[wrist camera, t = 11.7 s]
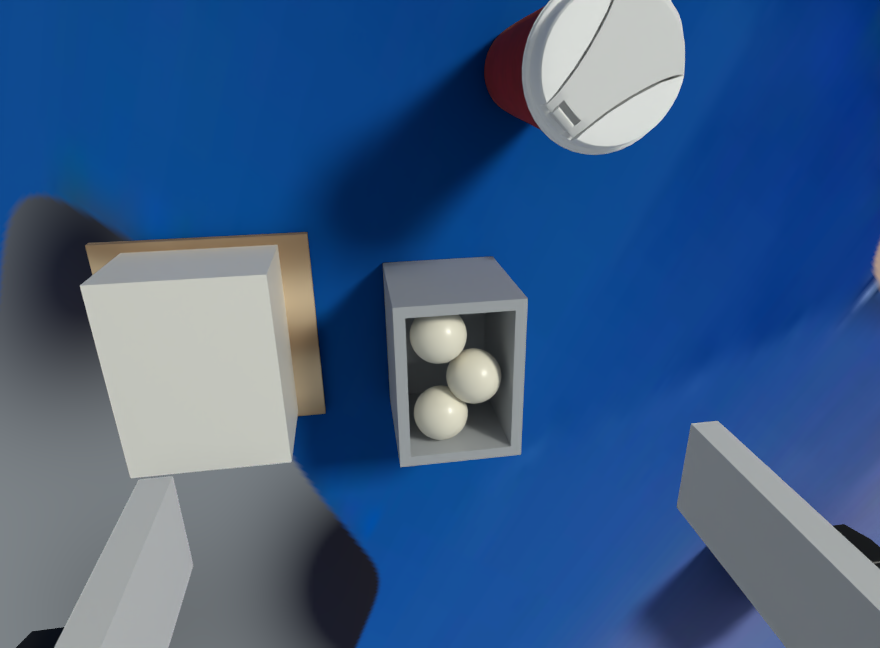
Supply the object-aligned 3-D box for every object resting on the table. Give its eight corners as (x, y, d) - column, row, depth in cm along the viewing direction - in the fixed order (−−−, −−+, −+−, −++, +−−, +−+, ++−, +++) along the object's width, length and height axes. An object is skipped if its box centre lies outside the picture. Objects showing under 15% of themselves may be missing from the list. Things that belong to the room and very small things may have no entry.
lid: (120, 253, 39) (79, 285, 33) (277, 244, 40) (266, 274, 34) (159, 423, 44) (130, 478, 38) (298, 410, 45) (291, 462, 39)
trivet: (88, 243, 39) (84, 245, 38) (307, 232, 41) (306, 234, 40) (134, 426, 44) (131, 431, 44) (325, 409, 46) (325, 413, 46)
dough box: (382, 262, 42) (392, 307, 34) (492, 256, 43) (527, 298, 35) (390, 398, 47) (400, 467, 38) (489, 389, 48) (520, 454, 39)
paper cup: (520, 156, 41) (601, 192, 28) (442, 69, 38) (494, 66, 25) (605, 69, 40) (731, 66, 27) (532, -27, 37) (634, -82, 24)
